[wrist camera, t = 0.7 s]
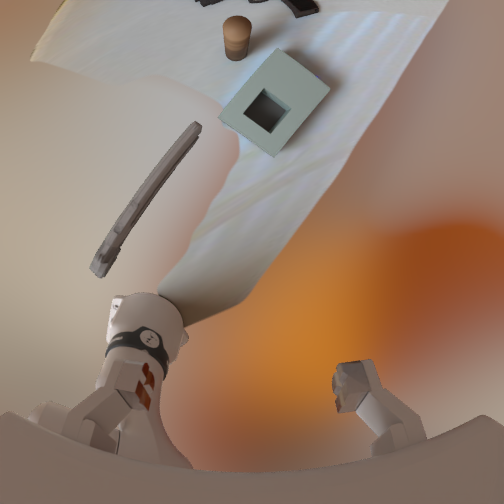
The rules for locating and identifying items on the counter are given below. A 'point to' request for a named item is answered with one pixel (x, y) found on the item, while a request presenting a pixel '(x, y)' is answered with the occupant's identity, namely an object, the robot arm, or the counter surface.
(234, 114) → the socket block
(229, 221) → the counter surface
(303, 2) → the handgun
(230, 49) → the walnut dowel
